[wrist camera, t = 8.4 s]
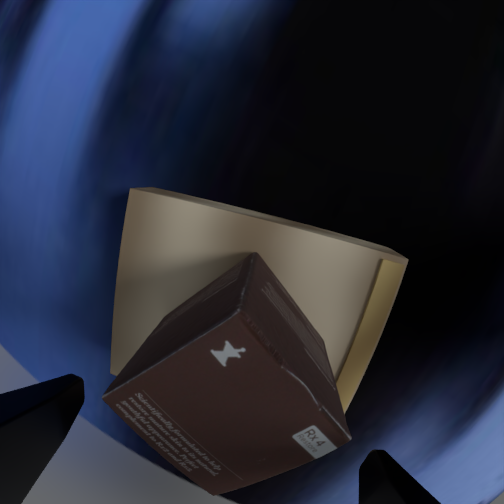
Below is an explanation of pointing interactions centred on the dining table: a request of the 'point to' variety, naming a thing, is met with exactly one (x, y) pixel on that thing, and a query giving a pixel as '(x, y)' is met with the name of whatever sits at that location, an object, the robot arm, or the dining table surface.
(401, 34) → the dining table surface
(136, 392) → the box
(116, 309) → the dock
